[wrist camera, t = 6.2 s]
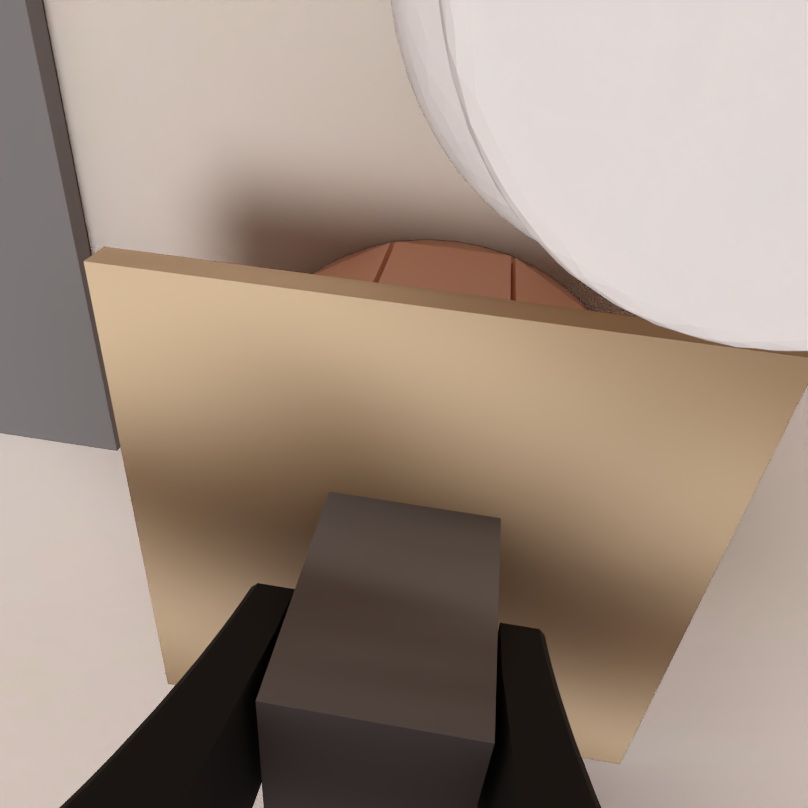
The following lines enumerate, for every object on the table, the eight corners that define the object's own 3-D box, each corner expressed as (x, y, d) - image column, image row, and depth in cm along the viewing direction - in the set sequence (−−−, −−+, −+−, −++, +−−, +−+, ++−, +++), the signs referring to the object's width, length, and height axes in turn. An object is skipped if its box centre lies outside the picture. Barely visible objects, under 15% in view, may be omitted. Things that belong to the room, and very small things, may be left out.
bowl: (577, 577, 18) (592, 713, 15) (258, 527, 19) (204, 647, 16) (679, 269, 13) (733, 371, 10) (239, 214, 14) (154, 293, 11)
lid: (616, 738, 15) (649, 992, 12) (178, 661, 16) (75, 876, 12) (803, 338, 10) (993, 586, 6) (103, 247, 10) (-135, 412, 7)
